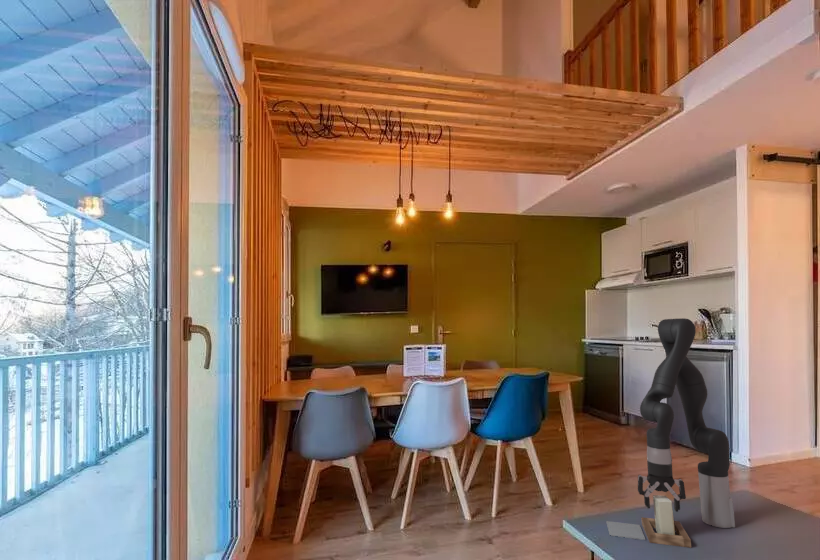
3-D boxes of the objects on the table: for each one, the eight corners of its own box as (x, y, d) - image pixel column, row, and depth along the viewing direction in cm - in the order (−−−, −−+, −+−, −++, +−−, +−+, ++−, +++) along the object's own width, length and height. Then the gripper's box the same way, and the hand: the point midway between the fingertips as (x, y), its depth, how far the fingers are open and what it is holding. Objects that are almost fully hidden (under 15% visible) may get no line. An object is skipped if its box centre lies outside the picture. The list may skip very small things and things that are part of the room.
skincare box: (675, 540, 147) (673, 502, 148) (661, 539, 148) (658, 501, 149) (668, 531, 153) (666, 495, 154) (655, 530, 154) (652, 494, 155)
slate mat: (639, 526, 158) (639, 524, 158) (645, 540, 147) (645, 538, 147) (606, 522, 161) (606, 521, 161) (609, 535, 151) (609, 534, 151)
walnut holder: (679, 528, 155) (679, 521, 155) (691, 547, 142) (690, 539, 142) (641, 524, 159) (641, 517, 159) (649, 542, 146) (649, 534, 146)
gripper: (679, 459, 154) (682, 507, 153) (634, 455, 159) (637, 502, 157) (685, 465, 147) (688, 516, 146) (638, 461, 152) (640, 510, 150)
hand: (662, 509), depth 151 cm, fingers open, 8 cm apart
